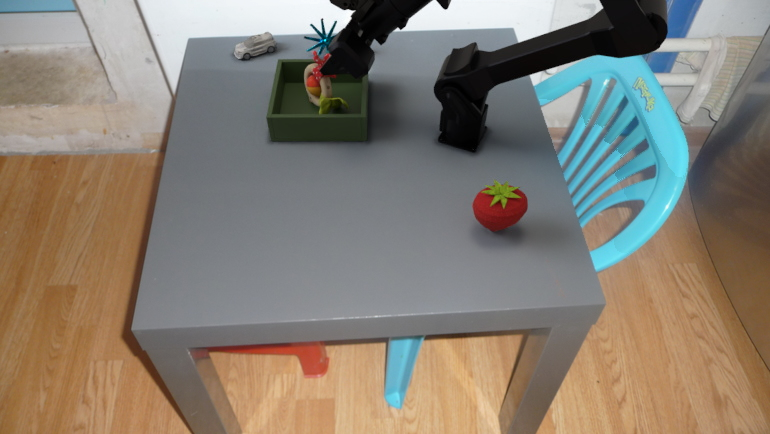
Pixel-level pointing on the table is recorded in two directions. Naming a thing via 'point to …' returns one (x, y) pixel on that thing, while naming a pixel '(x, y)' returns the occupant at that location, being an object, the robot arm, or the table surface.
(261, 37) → the toy car
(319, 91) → the bird rattle
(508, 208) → the strawberry
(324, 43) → the stick construction toy
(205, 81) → the table surface
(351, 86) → the bin
